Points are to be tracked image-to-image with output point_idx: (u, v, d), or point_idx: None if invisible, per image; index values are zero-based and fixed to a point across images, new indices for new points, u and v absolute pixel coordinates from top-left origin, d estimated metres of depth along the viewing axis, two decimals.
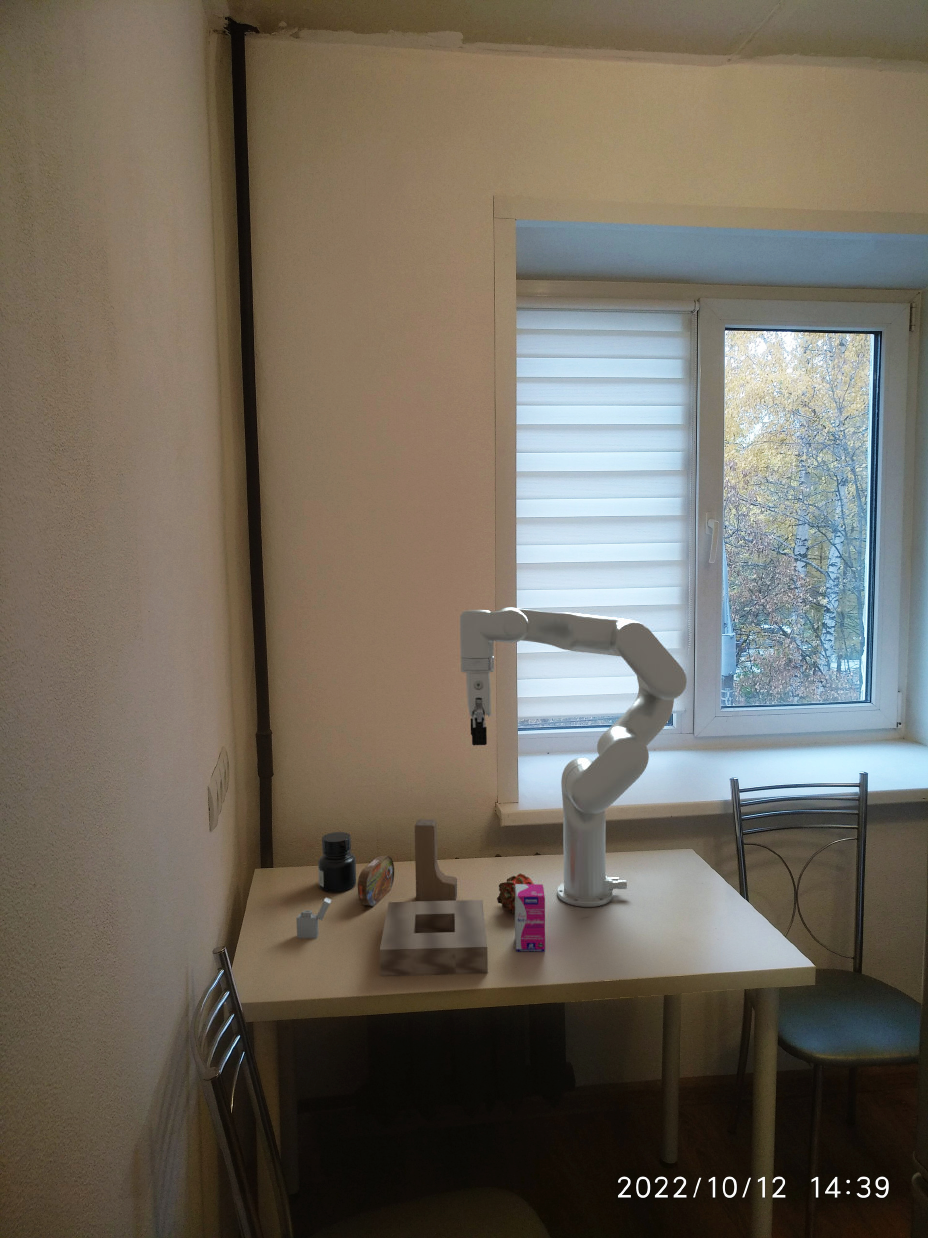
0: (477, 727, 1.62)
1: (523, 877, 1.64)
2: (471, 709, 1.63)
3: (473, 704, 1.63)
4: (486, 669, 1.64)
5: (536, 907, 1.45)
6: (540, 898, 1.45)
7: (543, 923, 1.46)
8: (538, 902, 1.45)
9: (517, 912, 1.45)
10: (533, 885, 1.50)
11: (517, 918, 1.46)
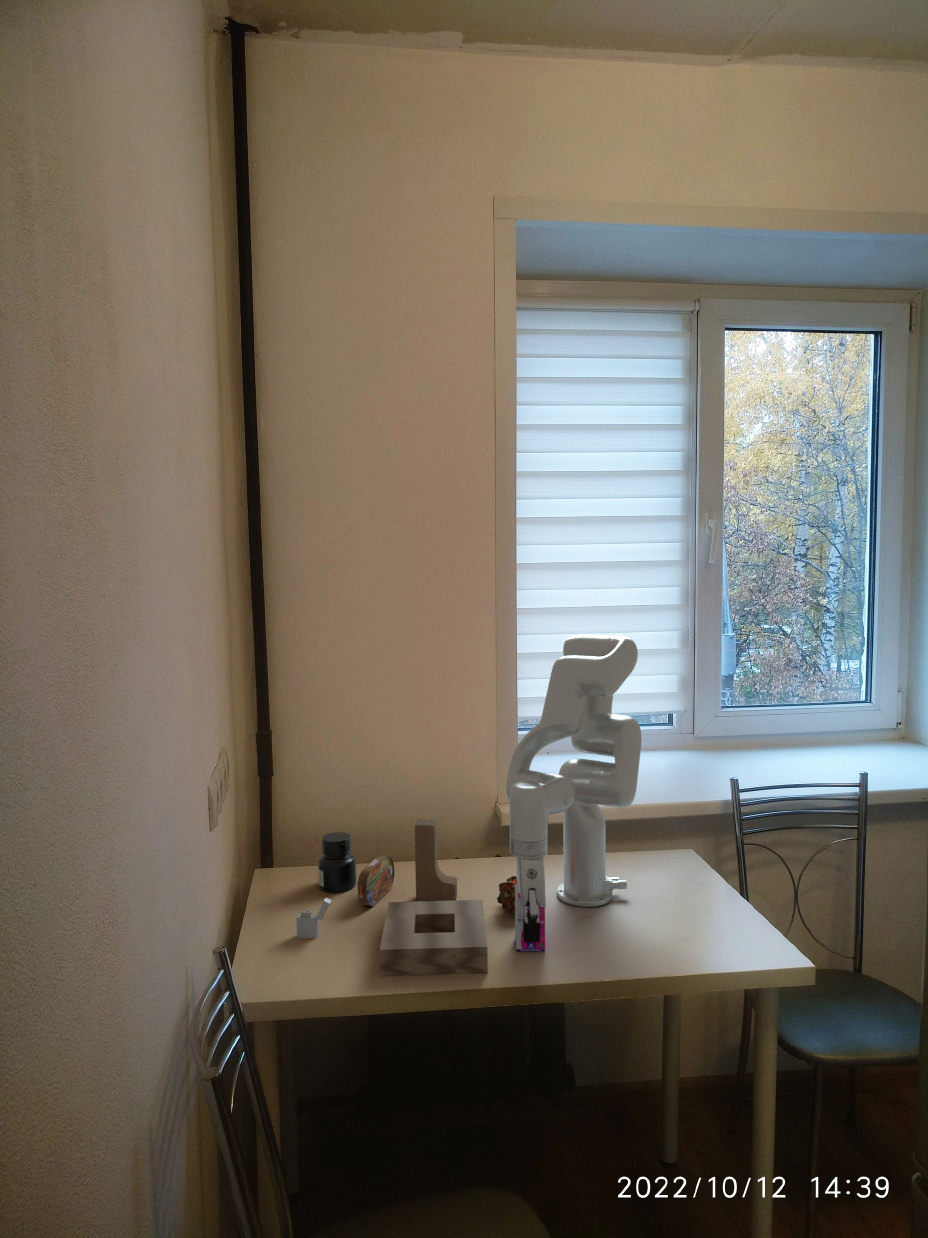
0: (530, 923, 1.44)
1: None
2: (523, 901, 1.43)
3: (526, 895, 1.43)
4: (540, 854, 1.44)
5: None
6: None
7: (543, 923, 1.45)
8: None
9: (517, 912, 1.45)
10: None
11: (517, 918, 1.46)
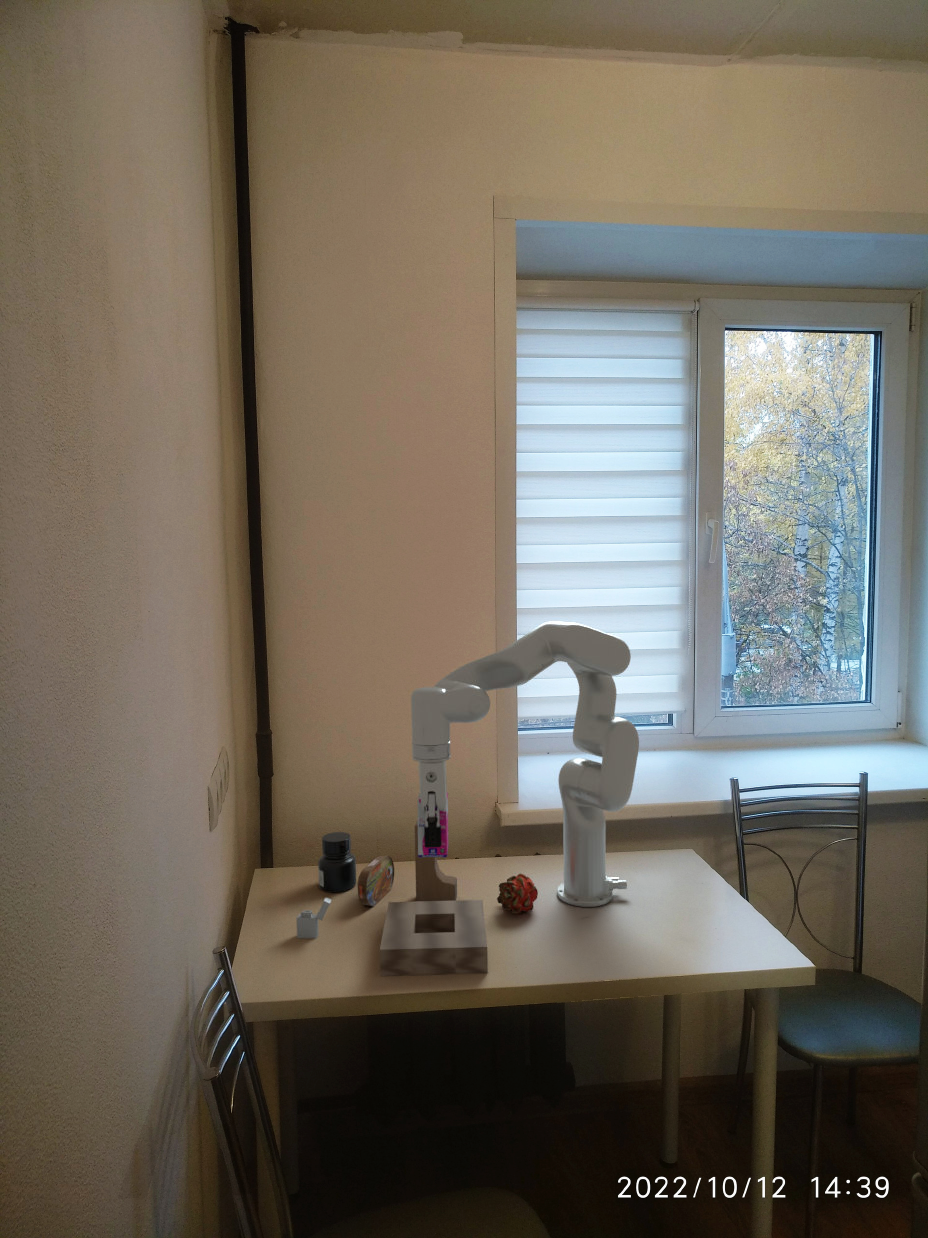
0: (430, 828, 1.42)
1: (523, 877, 1.64)
2: (423, 804, 1.42)
3: (425, 799, 1.41)
4: (440, 757, 1.43)
5: None
6: None
7: (445, 828, 1.44)
8: None
9: (418, 817, 1.44)
10: None
11: (418, 823, 1.44)
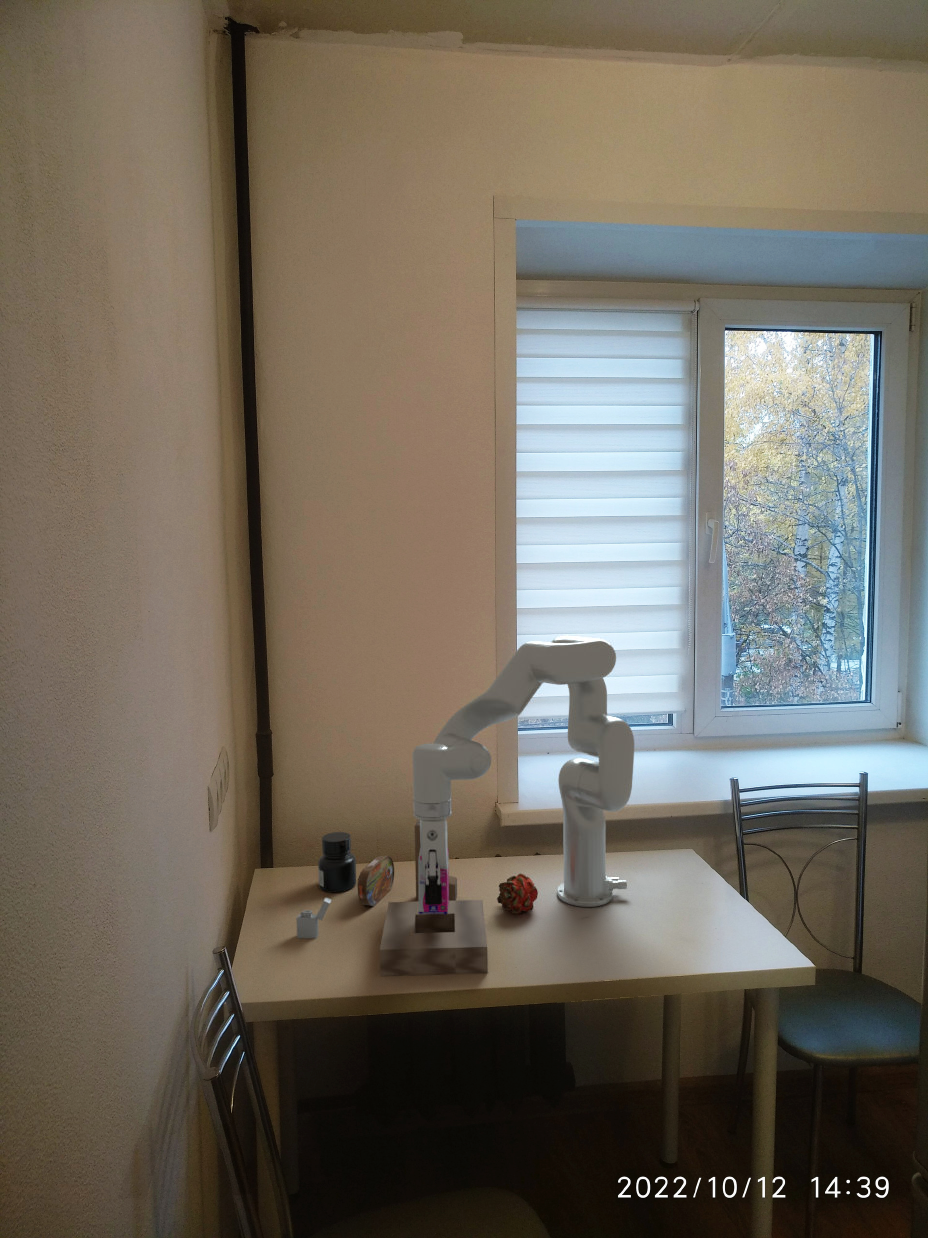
0: (431, 885, 1.43)
1: (523, 877, 1.64)
2: (424, 862, 1.42)
3: (426, 857, 1.42)
4: (441, 815, 1.44)
5: None
6: None
7: (445, 885, 1.45)
8: None
9: (419, 874, 1.45)
10: None
11: (419, 880, 1.45)
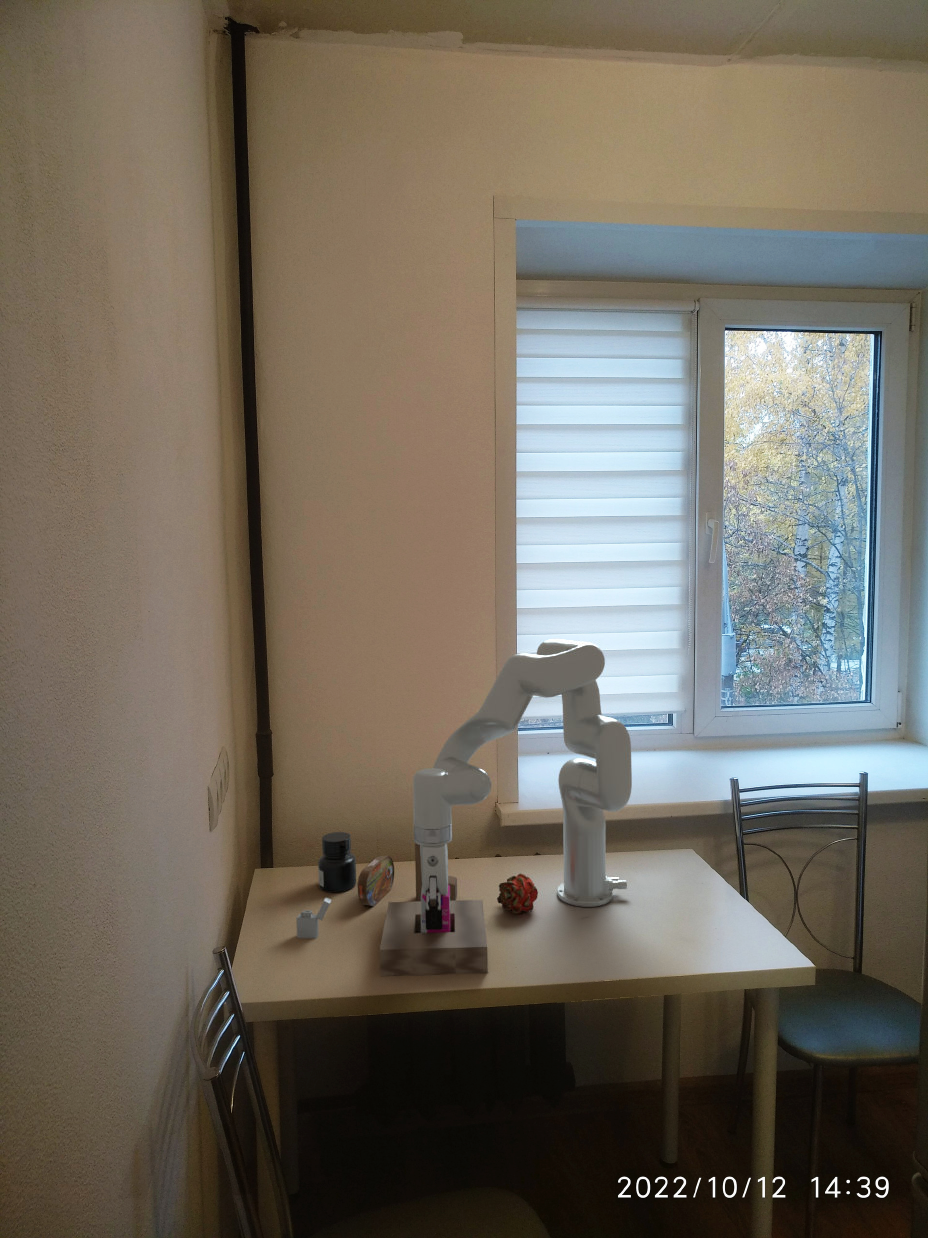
0: (431, 911, 1.42)
1: (523, 877, 1.64)
2: (424, 888, 1.43)
3: (427, 883, 1.42)
4: (442, 841, 1.44)
5: (441, 907, 1.45)
6: (444, 899, 1.44)
7: (448, 924, 1.45)
8: (442, 902, 1.45)
9: (421, 913, 1.45)
10: None
11: (421, 919, 1.45)
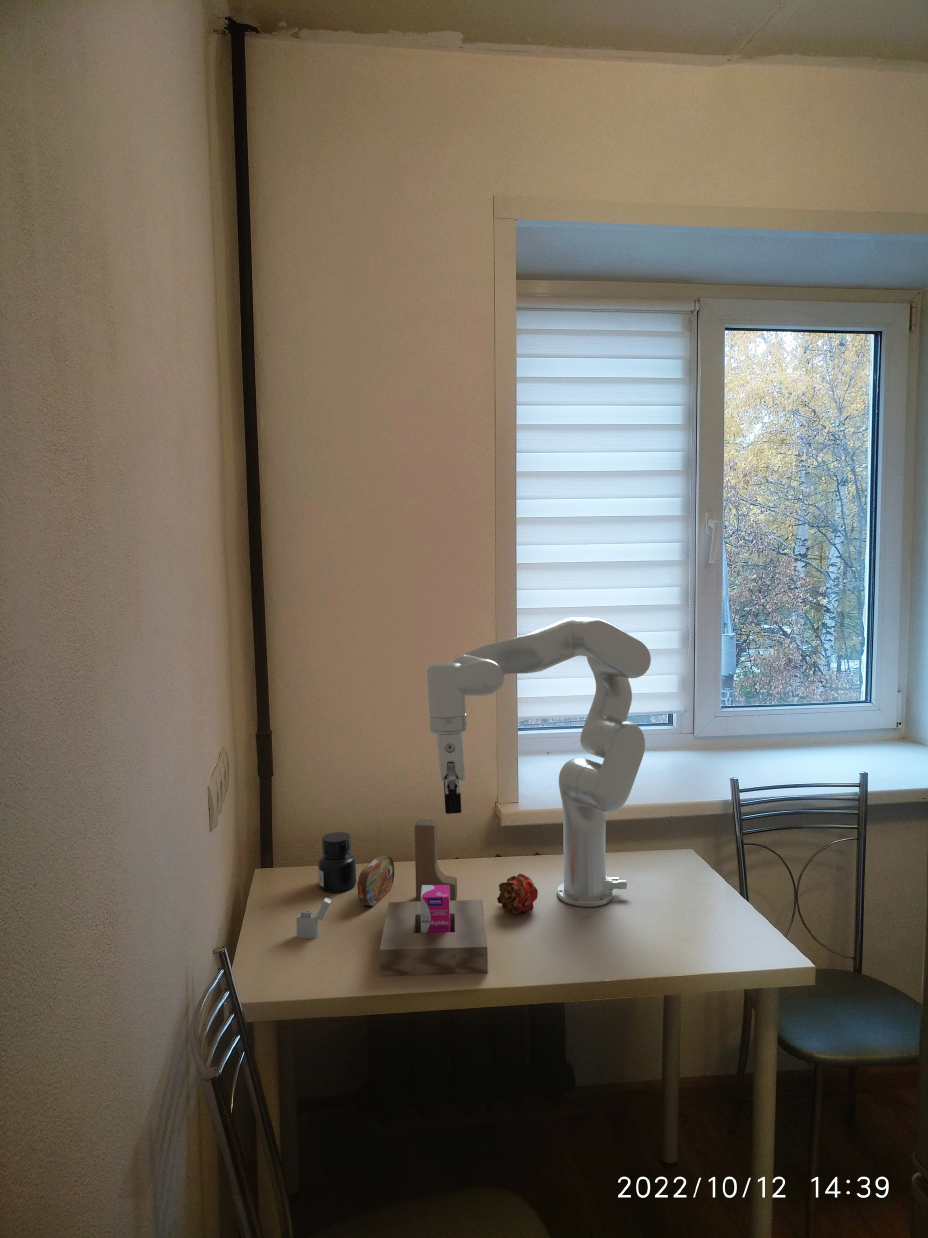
0: (450, 794, 1.47)
1: (523, 877, 1.64)
2: (443, 774, 1.47)
3: (445, 769, 1.47)
4: (458, 729, 1.49)
5: (441, 908, 1.45)
6: (444, 899, 1.44)
7: (447, 924, 1.45)
8: (442, 903, 1.44)
9: (421, 913, 1.45)
10: (439, 886, 1.49)
11: (421, 919, 1.45)
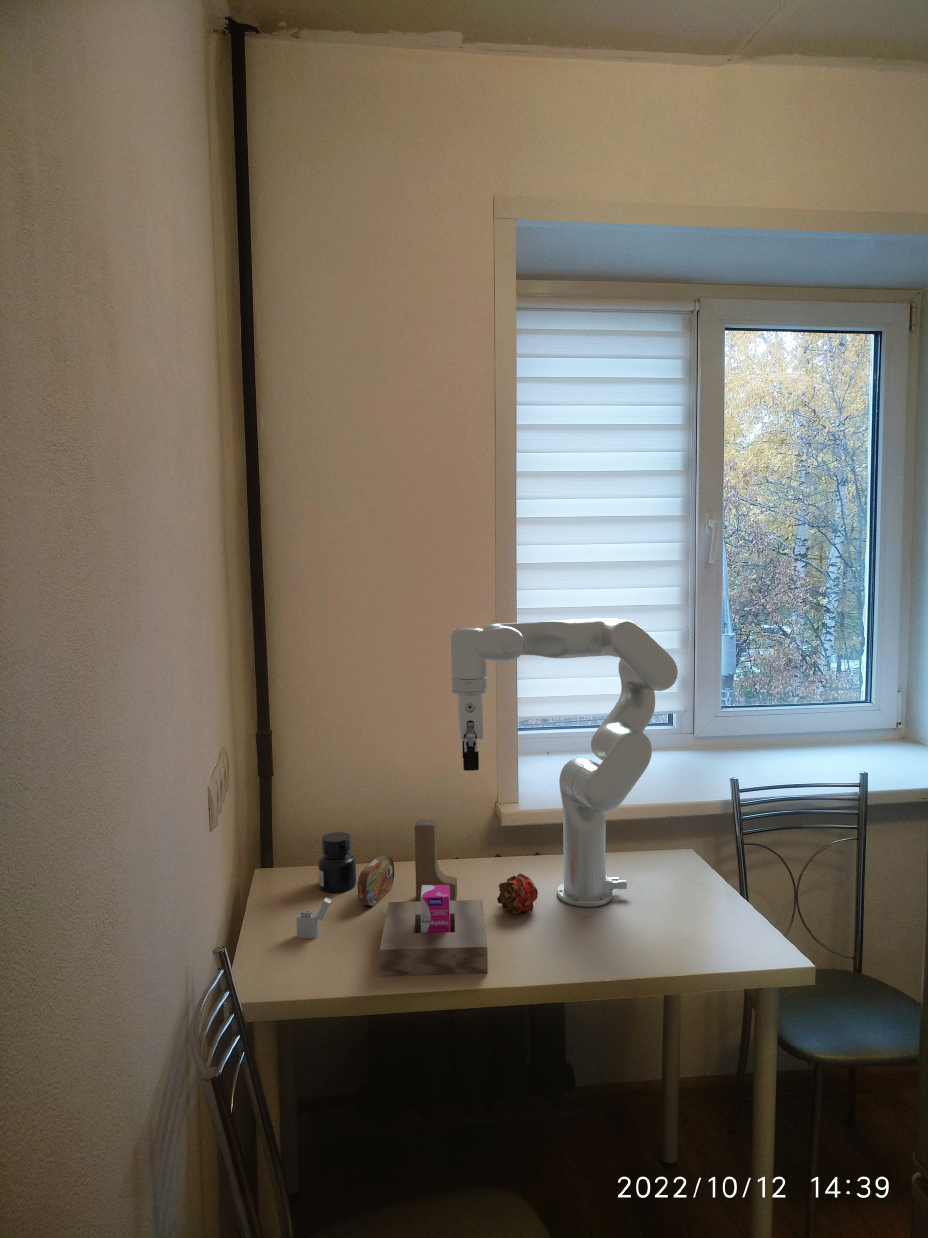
0: (469, 752, 1.54)
1: (523, 877, 1.64)
2: (462, 733, 1.55)
3: (464, 727, 1.55)
4: (478, 690, 1.56)
5: (441, 908, 1.45)
6: (444, 899, 1.44)
7: (447, 924, 1.45)
8: (442, 903, 1.44)
9: (421, 913, 1.45)
10: (439, 886, 1.49)
11: (421, 919, 1.45)
